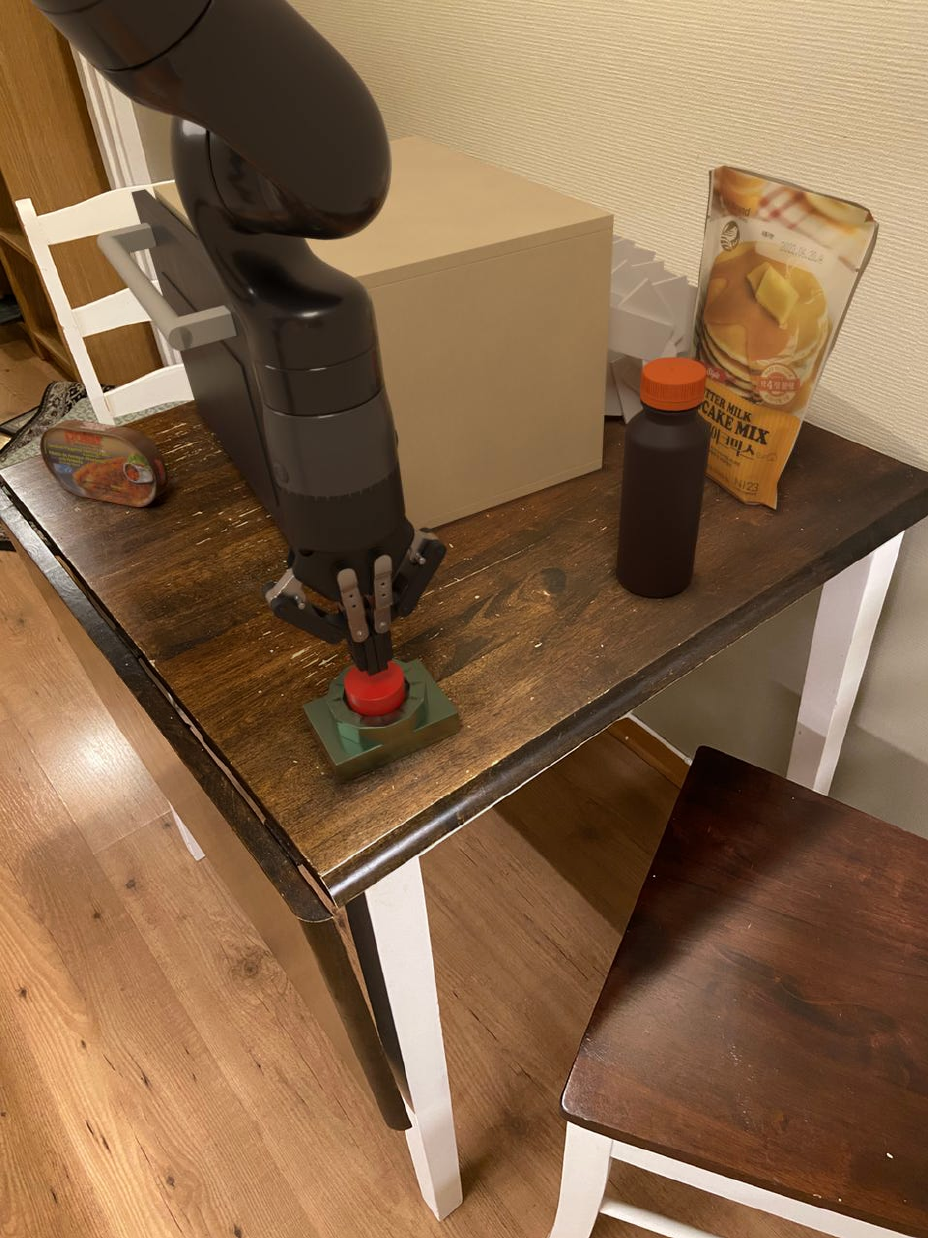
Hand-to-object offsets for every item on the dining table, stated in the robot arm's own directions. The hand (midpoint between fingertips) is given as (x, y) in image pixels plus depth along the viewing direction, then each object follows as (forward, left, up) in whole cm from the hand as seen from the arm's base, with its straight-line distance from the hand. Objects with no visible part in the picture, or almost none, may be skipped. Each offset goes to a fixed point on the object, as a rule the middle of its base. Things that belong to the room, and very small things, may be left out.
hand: (373, 666), depth 64 cm
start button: (0, 0, -3) cm, 3 cm away
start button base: (0, 0, -7) cm, 7 cm away
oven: (+20, +42, -7) cm, 47 cm away
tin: (-11, +47, -7) cm, 49 cm away
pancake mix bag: (+47, +14, -7) cm, 49 cm away
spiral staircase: (+47, +37, -7) cm, 60 cm away
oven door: (0, +42, -7) cm, 43 cm away
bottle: (+29, +4, -7) cm, 30 cm away
